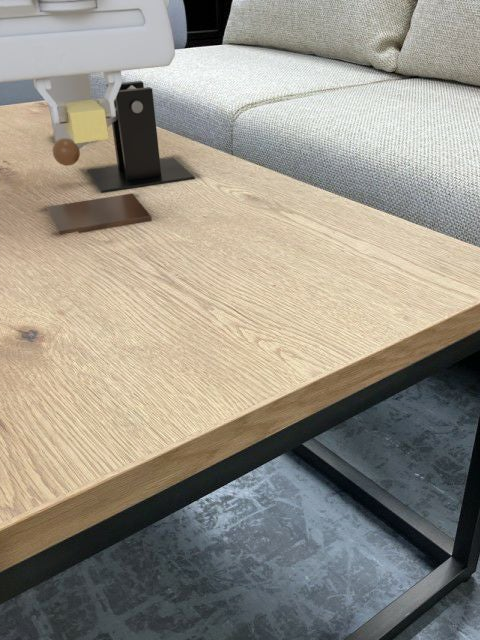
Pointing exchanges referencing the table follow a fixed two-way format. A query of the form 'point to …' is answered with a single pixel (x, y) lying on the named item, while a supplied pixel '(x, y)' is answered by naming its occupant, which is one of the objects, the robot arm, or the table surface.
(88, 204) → the board
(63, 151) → the arm
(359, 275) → the table surface
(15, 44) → the robot arm
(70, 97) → the beverage can
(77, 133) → the butter
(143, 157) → the black lever stand
